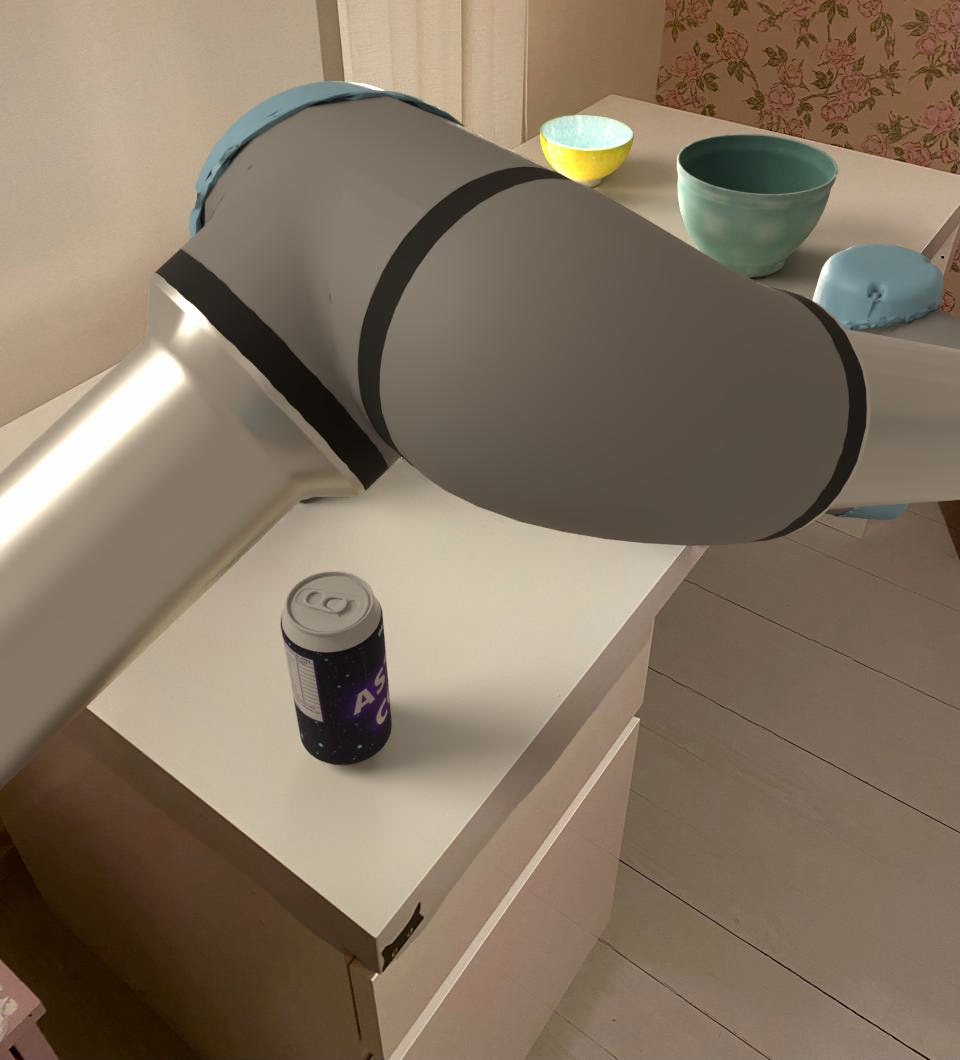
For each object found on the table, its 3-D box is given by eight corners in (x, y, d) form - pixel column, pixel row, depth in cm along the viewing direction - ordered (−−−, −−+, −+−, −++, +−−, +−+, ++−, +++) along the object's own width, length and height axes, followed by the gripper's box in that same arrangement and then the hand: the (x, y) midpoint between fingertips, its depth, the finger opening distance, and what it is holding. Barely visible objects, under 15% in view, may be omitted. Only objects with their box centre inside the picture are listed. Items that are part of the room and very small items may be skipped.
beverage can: (368, 785, 63) (353, 650, 55) (285, 757, 64) (258, 622, 56) (407, 715, 67) (397, 580, 59) (327, 691, 68) (308, 555, 60)
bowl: (645, 174, 131) (650, 125, 127) (603, 207, 124) (607, 156, 120) (565, 155, 136) (568, 107, 132) (520, 186, 128) (522, 136, 124)
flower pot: (637, 265, 113) (648, 166, 106) (708, 214, 123) (722, 121, 115) (775, 310, 106) (797, 208, 98) (839, 252, 115) (863, 155, 108)
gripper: (677, 535, 75) (366, 484, 79) (695, 431, 84) (416, 391, 89) (691, 452, 70) (358, 402, 74) (708, 351, 80) (412, 313, 84)
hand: (390, 396), depth 82 cm, fingers closed
